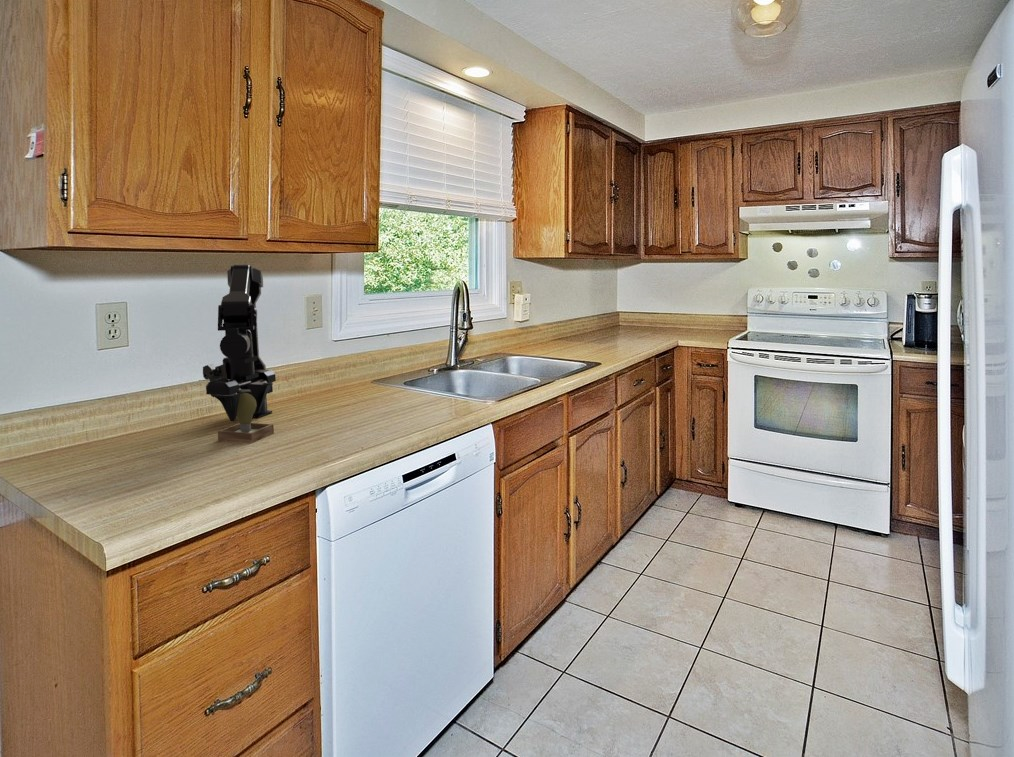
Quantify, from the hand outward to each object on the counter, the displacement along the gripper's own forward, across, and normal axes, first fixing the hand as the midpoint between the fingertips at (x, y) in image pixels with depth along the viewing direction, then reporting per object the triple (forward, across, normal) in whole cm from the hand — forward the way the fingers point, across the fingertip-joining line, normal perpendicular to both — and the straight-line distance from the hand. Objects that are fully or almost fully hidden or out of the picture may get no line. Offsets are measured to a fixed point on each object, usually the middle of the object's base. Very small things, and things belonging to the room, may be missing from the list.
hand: (245, 416), depth 153 cm
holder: (+5, 0, 0) cm, 5 cm away
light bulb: (+4, 0, 0) cm, 4 cm away
